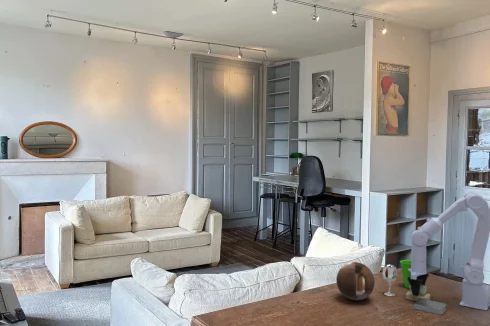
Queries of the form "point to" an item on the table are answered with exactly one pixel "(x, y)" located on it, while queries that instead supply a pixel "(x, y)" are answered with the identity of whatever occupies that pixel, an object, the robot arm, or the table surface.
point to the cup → (406, 271)
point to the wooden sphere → (355, 281)
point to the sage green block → (422, 294)
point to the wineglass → (389, 276)
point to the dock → (430, 306)
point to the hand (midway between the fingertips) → (418, 292)
